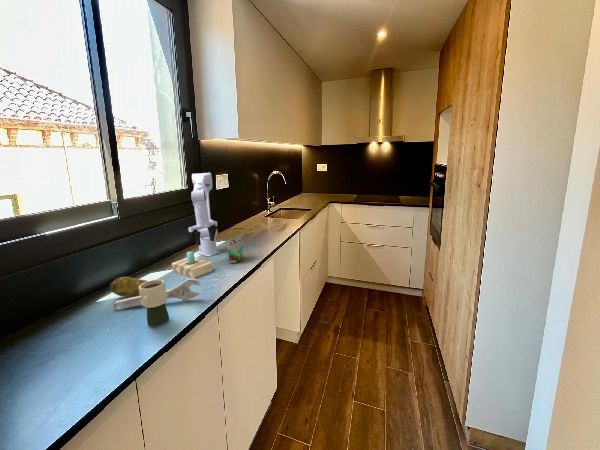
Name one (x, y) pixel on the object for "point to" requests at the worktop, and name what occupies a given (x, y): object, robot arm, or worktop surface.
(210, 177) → the robot arm
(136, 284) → the potato
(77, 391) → the worktop surface
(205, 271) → the hole block
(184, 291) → the wrench
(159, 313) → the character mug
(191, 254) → the peg
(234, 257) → the food container
